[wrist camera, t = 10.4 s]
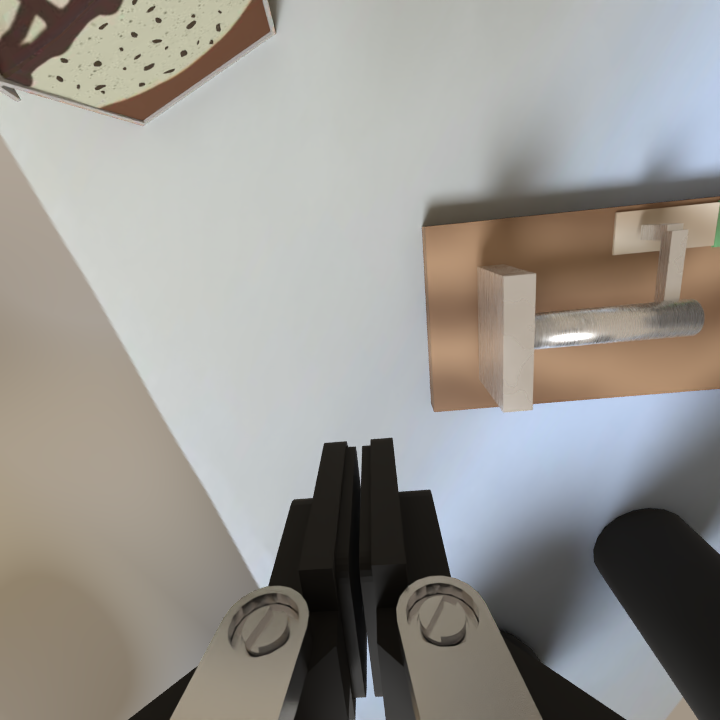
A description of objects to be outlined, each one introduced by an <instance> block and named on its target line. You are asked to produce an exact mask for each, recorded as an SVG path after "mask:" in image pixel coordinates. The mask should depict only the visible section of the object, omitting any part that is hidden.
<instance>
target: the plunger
mask: <svg viewBox="0 0 720 720" xmlns="http://www.w3.org/2000/svg"><path fill="white" fill-rule="evenodd" d="M683 225H684V223H669V224H647V225H641V235H640V240H658V241H661V244H660V253H659V261H658V270H657V279H656V288H655V297H654V302H649V303H638V304H627V305H616V306H605V307H594V308H584V309H573V310H562V311H551V312H540V313H535V300H536V273H533V272H529V271H526V270H522V269H519V268H515V267H511V266H508V265H504V264H501V265H491V266H481V267H477V270H478V338H479V380H480V381H481V382H482V384H483V385H484V387H485V388H486V389H487V391H488V392H489V393H490V395H491V396H492V398H493V399H494V400H495V402H496V403H497V404H498V406H499V407H500V409H501V410H502V411H503V412H514V411H527V410H533V374H534V350H536V349H547V348H559V347H570V346H582V345H593V344H604V343H616V342H627V341H638V340H650V339H661V338H672V337H684V336H694V335H696V334H698V333H699V332H700V331H701V329H702V327H703V325H704V311H703V308H702V306H701V304H700V303H699V302H698V301H696V300H694V299H681V300H679V298H680V291H681V283H682V275H683V268H684V260H685V252H686V245H687V237H688V229H683Z"/></svg>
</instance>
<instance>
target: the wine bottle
mask: <svg viewBox="0 0 720 720" xmlns="http://www.w3.org/2000/svg"><path fill="white" fill-rule="evenodd" d="M594 562H595V564H596V566H597V568H598V570H599V572H600V573H601V575H602V576H603V578H604V579H605V581H606V582H607V584H608V585H609V587H610V588H611V590H612V591H613V593H614V594H615V596H616V597H617V599H618V600H619V602H620V603H621V605H622V606H623V608H624V609H625V611H626V612H627V614H628V615H629V617H630V618H631V620H632V621H633V623H634V624H635V626H636V627H637V629H638V630H639V632H640V633H641V635H642V636H643V638H644V639H645V641H646V642H647V644H648V645H649V647H650V648H651V650H652V651H653V653H654V654H655V656H656V657H657V658H658V660H659V661H660V663H661V664H662V666H663V667H664V669H665V670H666V672H667V673H668V675H669V676H670V678H671V679H672V681H673V682H674V684H675V685H676V687H677V688H678V690H679V691H680V693H681V694H682V696H683V697H684V699H685V700H686V702H687V703H688V705H689V706H690V708H691V709H692V711H693V712H694V714H695V715H696V717H697V718H698V720H720V554H719V553H718V552H717V551H715V550H714V549H713V548H712V547H711V546H710V545H709V544H708V543H707V542H706V541H705V540H704V539H703V538H702V537H700V536H699V535H698V534H697V533H696V532H695V531H694V530H693V529H692V528H691V527H690V526H689V525H688V524H687V523H685V522H684V521H683V520H682V519H681V518H680V517H679V516H678V515H676V514H674V513H671V512H669V511H666V510H663V509H652V508H647V509H641V510H635V511H632V512H629V513H627V514H625V515H622V516H620V517H618V518H617V519H615V520H614V521H613V522H611V523H610V524H609V525H608V526H606V527H605V529H604V530H603V531H602V533H601V534H600V535H599V537H598V538H597V541H596V544H595V547H594Z"/></svg>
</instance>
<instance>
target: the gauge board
mask: <svg viewBox="0 0 720 720" xmlns="http://www.w3.org/2000/svg"><path fill="white" fill-rule="evenodd" d="M669 223H684V225H683V229H688V237H687V245H686V252H685V260H684V268H683V275H682V283H681V291H680V298H679V300H681V299H694V300H696V301H698V302H699V303H700V304H701V306H702V308H703V311H704V325H703V327H702V329H701V331H700V332H699V333H698V334H696V335H694V336H684V337H672V338H661V339H650V340H638V341H627V342H616V343H604V344H593V345H582V346H570V347H559V348H547V349H536V350H534V374H533V404H539V403H551V402H563V401H575V400H587V399H600V398H612V397H624V396H636V395H649V394H661V393H673V392H685V391H697V390H710V389H720V196H717V197H707V198H698V199H688V200H678V201H669V202H659V203H649V204H640V205H630V206H620V207H610V208H601V209H591V210H581V211H572V212H562V213H552V214H543V215H533V216H523V217H514V218H504V219H494V220H485V221H475V222H465V223H456V224H446V225H436V226H427V227H422V237H423V256H424V275H425V294H426V313H427V333H428V352H429V371H430V390H431V404H432V407H433V410H434V412H441V411H453V410H465V409H477V408H490V407H499V406H498V404H497V403H496V402H495V400H494V399H493V398H492V396H491V395H490V393H489V392H488V391H487V389H486V388H485V387H484V385H483V384H482V382H481V381H480V380H479V338H478V270H477V267H481V266H491V265H501V264H504V265H508V266H511V267H515V268H519V269H522V270H526V271H529V272H533V273H536V300H535V313H540V312H551V311H562V310H573V309H584V308H594V307H605V306H616V305H627V304H638V303H649V302H654V297H655V288H656V279H657V270H658V261H659V253H660V244H661V241H658V240H640V235H641V225H647V224H669Z"/></svg>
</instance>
